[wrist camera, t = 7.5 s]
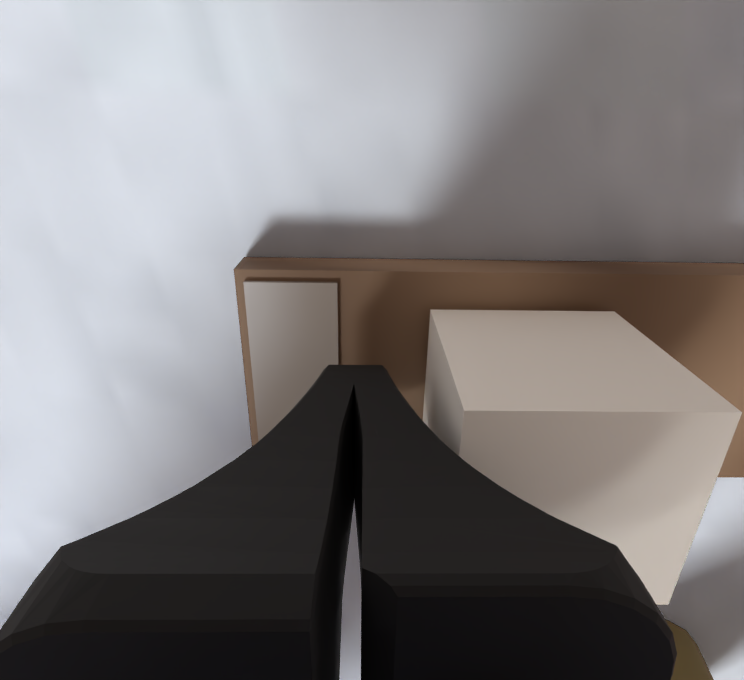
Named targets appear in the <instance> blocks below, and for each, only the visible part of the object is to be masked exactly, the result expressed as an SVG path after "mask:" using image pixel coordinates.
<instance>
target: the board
mask: <svg viewBox="0 0 744 680" xmlns="http://www.w3.org/2000/svg"><path fill="white" fill-rule="evenodd" d="M234 275H235V285H236V295H237V304H238V314H239V324H240V334H241V343H242V353H243V363H244V373H245V382H246V392H247V402H248V412H249V421H250V431H251V441H252V446H254V445H255V444H256V443H257V442H259V441H260V440H261V439H262V438H263V437H264V436H265V435H266V434H268V433H269V432H270V431H271V430H272V429H273V428H274V427H275V426H276V425H277V424H278V423H279V422H280V421H281V420H282V419H283V418H284V417H285V416H286V415H287V414H288V413H289V412H290V411H291V410H292V409H293V407H294V406H295V405H296V404H297V403H298V402H299V401H300V399H301V398H302V397H303V396H304V395H305V394H306V393H307V391H308V390H309V389H310V388H311V386H312V385H313V384H314V382H315V381H316V380H317V378H318V377H319V376H320V374H321V373H322V371H323V370H324V369H325V368H326V367H327V366H328V365H383V366H384V367H385V368H386V369H387V371H388V373H389V375H390V377H391V378H392V380H393V382H394V383H395V385H396V386H397V388H398V389H399V391H400V392H401V394H402V395H403V397H404V398H405V399H406V401H407V402H408V403H409V405H410V406H411V407H412V408H413V410H414V411H415V412H416V413H417V415H418V416H419V417H420V418H421V419H422V421H423V408H424V394H425V379H426V365H427V350H428V336H429V322H430V309H433V310H528V311H614V312H616V313H617V314H618V315H620V316H621V317H622V318H623V319H625V320H626V321H627V322H628V323H630V324H631V325H632V326H633V327H635V328H636V329H637V330H639V331H640V332H641V333H642V334H644V335H645V336H646V337H647V338H649V339H650V340H651V341H652V342H654V343H655V344H656V345H658V346H659V347H660V348H661V349H663V350H664V351H665V352H666V353H668V354H669V355H670V356H671V357H673V358H674V359H675V360H676V361H678V362H679V363H680V364H682V365H683V366H684V367H685V368H687V369H688V370H689V371H690V372H692V373H693V374H694V375H695V376H697V377H698V378H699V379H701V380H702V381H703V382H704V383H706V384H707V385H708V386H709V387H711V388H712V389H713V390H714V391H716V392H717V393H718V394H719V395H721V396H722V397H723V398H725V399H726V400H727V401H728V402H730V403H731V404H732V405H733V406H735V407H736V408H737V409H738V410H740V411H741V412H742V414H741V417H740V420H739V422H738V425H737V427H736V430H735V433H734V435H733V438H732V440H731V443H730V446H729V448H728V451H727V453H726V456H725V459H724V461H723V464H722V467H721V469H720V472H719V474H718V477H744V263H679V262H599V261H518V260H438V259H358V258H278V257H244V258H243V259H242V260H241V262H240V263H239V264H238V265H237V266H236V268H235V269H234Z"/></svg>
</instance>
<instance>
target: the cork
mask: <svg viewBox="0 0 744 680" xmlns="http://www.w3.org/2000/svg"><path fill="white" fill-rule="evenodd" d="M666 622H667V624H668V626H669V627H670V629H671V631H672V632H673V637H674V641H675V646H676V650H677V657H676V661H675V666H674V671H673V675H672V677H671V680H713V678H712V675H711V673H710V671H709V669H708V667H707V665H706V663H705V661H704V658H703V656H702V654H701V652H700V650H699V648H698V646H697V644H696V643H695V641H694V640H693V639H692V637H691V636H690V635H689V634H688V632H687V631H686V630H684V629H682V628H681V627H679V626H677V625H675V624H673V623H671V622H670V621H668V620H666Z"/></svg>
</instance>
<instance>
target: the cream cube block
mask: <svg viewBox="0 0 744 680" xmlns="http://www.w3.org/2000/svg"><path fill="white" fill-rule="evenodd" d="M741 414H742V412H741V411H740V410H738V409H737V408H736V407H735V406H733V405H732V404H731V403H730V402H728V401H727V400H726V399H725V398H723V397H722V396H721V395H719V394H718V393H717V392H716V391H714V390H713V389H712V388H711V387H709V386H708V385H707V384H706V383H704V382H703V381H702V380H701V379H699V378H698V377H697V376H695V375H694V374H693V373H692V372H690V371H689V370H688V369H687V368H685V367H684V366H683V365H682V364H680V363H679V362H678V361H676V360H675V359H674V358H673V357H671V356H670V355H669V354H668V353H666V352H665V351H664V350H663V349H661V348H660V347H659V346H658V345H656V344H655V343H654V342H652V341H651V340H650V339H649V338H647V337H646V336H645V335H644V334H642V333H641V332H640V331H639V330H637V329H636V328H635V327H633V326H632V325H631V324H630V323H628V322H627V321H626V320H625V319H623V318H622V317H621V316H620V315H618V314H617V313H616V312H614V311H528V310H433V309H430V322H429V336H428V350H427V365H426V379H425V394H424V408H423V422H424V423H425V424H426V425H427V426H428V427H429V428H430V429H431V430H432V432H433V433H434V434H435V435H436V436H437V437H438V438H439V439H440V440H441V441H442V442H443V443H444V444H445V445H447V446H448V447H449V448H450V449H451V450H452V451H454V452H455V453H456V454H457V455H458V456H459V457H461V458H462V459H463V460H464V461H465V462H467V463H468V464H469V465H471V466H472V467H473V468H475V469H476V470H477V471H479V472H480V473H482V474H483V475H485V476H486V477H488V478H489V479H491V480H492V481H493V482H495V483H496V484H498V485H499V486H501V487H502V488H504V489H506V490H507V491H509V492H510V493H512V494H514V495H515V496H517V497H519V498H520V499H522V500H524V501H526V502H528V503H529V504H531V505H533V506H535V507H537V508H538V509H540V510H542V511H544V512H546V513H547V514H549V515H551V516H553V517H555V518H557V519H559V520H561V521H564V522H566V523H568V524H570V525H572V526H575V527H577V528H579V529H581V530H583V531H586V532H588V533H590V534H592V535H594V536H596V537H599V538H601V539H603V540H605V541H607V542H610V543H612V544H614V545H616V546H617V547H618V548H619V549H620V551H621V552H622V554H623V555H624V557H625V558H626V560H627V561H628V562H629V564H630V565H631V566H632V568H633V569H634V571H635V572H636V573H637V575H638V576H639V577H640V579H641V581H642V582H643V584H644V585H645V587H646V589H647V590H648V592H649V593H650V595H651V597H652V598H653V600H654V602H655V604H656V605H669V602H670V599H671V597H672V594H673V592H674V589H675V586H676V584H677V581H678V579H679V576H680V573H681V571H682V568H683V565H684V563H685V560H686V558H687V555H688V552H689V550H690V547H691V545H692V542H693V539H694V537H695V534H696V532H697V529H698V526H699V524H700V521H701V519H702V516H703V513H704V511H705V508H706V506H707V503H708V500H709V498H710V495H711V493H712V490H713V487H714V485H715V482H716V480H717V477H718V474H719V472H720V469H721V467H722V464H723V461H724V459H725V456H726V453H727V451H728V448H729V446H730V443H731V440H732V438H733V435H734V433H735V430H736V427H737V425H738V422H739V420H740V417H741Z"/></svg>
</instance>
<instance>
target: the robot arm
mask: <svg viewBox="0 0 744 680" xmlns="http://www.w3.org/2000/svg"><path fill="white" fill-rule="evenodd" d="M354 499H355V511H356V523H357V535H358V547H359V559H360V571H361V589H362V602H361V680H671V677H672V675H673V671H674V666H675V661H676V657H677V650H676V646H675V641H674V637H673V632H672V631H671V629H670V627H669V626H668V624H667V622H666V620H665V619H664V617H663V615H662V614H661V612H660V610H659V609H658V607H657V605H656V604H655V602H654V600H653V598H652V597H651V595H650V593H649V592H648V590H647V589H646V587H645V585H644V584H643V582H642V581H641V579H640V577H639V576H638V575H637V573H636V572H635V571H634V569H633V568H632V566H631V565H630V564H629V562H628V561H627V560H626V558H625V557H624V555H623V554H622V552H621V551H620V549H619V548H618V547H617V546H616V545H614V544H612V543H610V542H607V541H605V540H603V539H601V538H599V537H596V536H594V535H592V534H590V533H588V532H586V531H583V530H581V529H579V528H577V527H575V526H572V525H570V524H568V523H566V522H564V521H561V520H559V519H557V518H555V517H553V516H551V515H549V514H547V513H546V512H544V511H542V510H540V509H538V508H537V507H535V506H533V505H531V504H529V503H528V502H526V501H524V500H522V499H520V498H519V497H517V496H515V495H514V494H512V493H510V492H509V491H507V490H506V489H504V488H502V487H501V486H499V485H498V484H496V483H495V482H493V481H492V480H491V479H489V478H488V477H486V476H485V475H483V474H482V473H480V472H479V471H477V470H476V469H475V468H473V467H472V466H471V465H469V464H468V463H467V462H465V461H464V460H463V459H462V458H461V457H459V456H458V455H457V454H456V453H455V452H454V451H452V450H451V449H450V448H449V447H448V446H447V445H445V444H444V443H443V442H442V441H441V440H440V439H439V438H438V437H437V436H436V435H435V434H434V433H433V432H432V430H431V429H430V428H429V427H428V426H427V425H426V424H425V423H424V422H423V421H422V419H421V418H420V417H419V416H418V415H417V413H416V412H415V411H414V410H413V408H412V407H411V406H410V405H409V403H408V402H407V401H406V399H405V398H404V397H403V395H402V394H401V392H400V391H399V389H398V388H397V386H396V385H395V383H394V382H393V380H392V378H391V377H390V375H389V373H388V371H387V369H386V368H385V367H384V366H383V365H328V366H327V367H326V368H325V369H324V370H323V371H322V373H321V374H320V376H319V377H318V378H317V380H316V381H315V382H314V384H313V385H312V386H311V388H310V389H309V390H308V391H307V393H306V394H305V395H304V396H303V397H302V398H301V399H300V401H299V402H298V403H297V404H296V405H295V406H294V407H293V409H292V410H291V411H290V412H289V413H288V414H287V415H286V416H285V417H284V418H283V419H282V420H281V421H280V422H279V423H278V424H277V425H276V426H275V427H274V428H273V429H272V430H271V431H270V432H269V433H268V434H266V435H265V436H264V437H263V438H262V439H261V440H260V441H259V442H257V443H256V444H255V445H254V446H252V447H251V448H250V449H248V450H247V451H246V452H245V453H243V454H242V455H241V456H239V457H238V458H236V459H235V460H234V461H232V462H231V463H229V464H227V465H226V466H224V467H223V468H221V469H220V470H218V471H217V472H215V473H213V474H212V475H210V476H209V477H207V478H206V479H204V480H203V481H201V482H199V483H198V484H196V485H194V486H193V487H191V488H189V489H187V490H185V491H184V492H182V493H180V494H178V495H176V496H174V497H173V498H171V499H169V500H167V501H165V502H163V503H161V504H159V505H157V506H155V507H153V508H151V509H149V510H147V511H145V512H142V513H140V514H138V515H136V516H134V517H132V518H130V519H127V520H125V521H122V522H120V523H118V524H115V525H113V526H110V527H108V528H106V529H103V530H101V531H99V532H96V533H94V534H91V535H89V536H87V537H84V538H82V539H79V540H77V541H74V542H72V543H69V544H67V545H64V546H61V547H60V549H59V550H58V551H57V552H56V554H55V555H54V556H53V557H52V559H51V560H50V561H49V562H48V564H47V565H46V566H45V567H44V569H43V570H42V571H41V573H40V574H39V575H38V576H37V578H36V579H35V580H34V582H33V583H32V585H31V586H30V588H29V589H28V590H27V592H26V593H25V595H24V596H23V598H22V599H21V601H20V602H19V604H18V605H17V606H16V608H15V609H14V611H13V612H12V614H11V615H10V617H9V618H8V619H7V621H6V622H5V624H4V625H3V627H2V628H1V630H0V680H339V669H340V642H341V616H342V594H343V583H344V573H345V566H346V558H347V551H348V543H349V536H350V528H351V521H352V513H353V505H354Z"/></svg>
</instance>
